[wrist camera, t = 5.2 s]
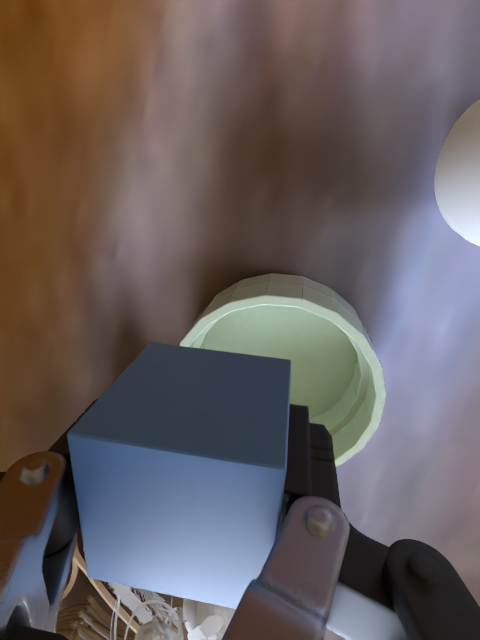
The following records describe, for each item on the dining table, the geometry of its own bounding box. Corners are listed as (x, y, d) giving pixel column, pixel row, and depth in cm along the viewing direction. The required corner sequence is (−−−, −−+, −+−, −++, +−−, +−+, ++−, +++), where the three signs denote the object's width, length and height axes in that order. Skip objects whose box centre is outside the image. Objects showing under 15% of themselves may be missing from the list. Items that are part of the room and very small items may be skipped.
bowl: (193, 264, 27) (168, 285, 22) (386, 281, 25) (408, 308, 20) (193, 416, 32) (172, 462, 27) (352, 439, 30) (362, 492, 25)
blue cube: (150, 341, 12) (65, 432, 7) (291, 358, 11) (287, 469, 7) (154, 452, 13) (86, 579, 9) (277, 472, 13) (266, 616, 9)
